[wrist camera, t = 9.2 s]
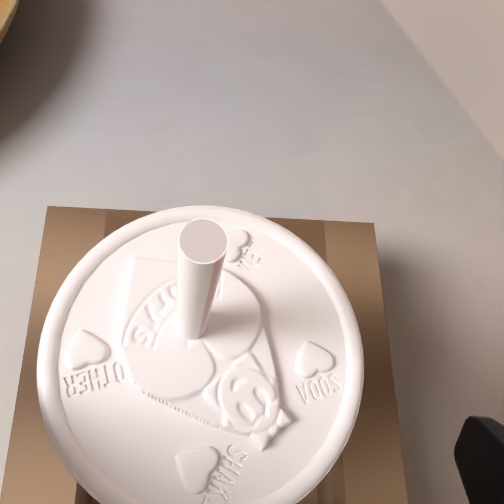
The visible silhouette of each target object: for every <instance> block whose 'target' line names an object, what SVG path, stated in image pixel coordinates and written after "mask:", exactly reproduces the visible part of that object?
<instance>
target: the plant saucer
mask: <svg viewBox="0 0 504 504" xmlns="http://www.w3.org/2000/svg"><path fill="white" fill-rule="evenodd" d="M19 2H20V0H0V44H1V42H2V40H3V39H4V37H5V35H6V33H7V31H8V29H9V27H10V25H11V23H12V21H13V18H14V16H15V13H16V11H17V8H18V5H19Z"/></svg>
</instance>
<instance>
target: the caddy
mask: <svg viewBox="0 0 504 504" xmlns="http://www.w3.org/2000/svg"><path fill="white" fill-rule="evenodd" d="M152 213H156V212H151V211H132V210H113V209H94V208H75V207H56V206H48V207H47V213H46V219H45V226H44V232H43V238H42V244H41V250H40V257H39V263H38V269H37V275H36V281H35V287H34V294H33V300H32V306H31V312H30V318H29V324H28V331H27V337H26V343H25V349H24V355H23V361H22V368H21V374H20V380H19V386H18V392H17V399H16V405H15V411H14V417H13V423H12V429H11V436H10V442H9V448H8V454H7V460H6V466H5V473H4V479H3V485H2V491H1V497H0V504H101V503H99V502H98V501H97V500H96V499H94V498H93V497H92V496H91V495H89V493H88V492H87V491H86V490H85V489H84V488H83V487H82V486H81V485H80V484H79V483H78V482H77V481H76V480H75V479H74V477H73V476H72V475H71V473H70V472H69V471H68V470H67V468H66V467H65V465H64V464H63V462H62V460H61V459H60V457H59V456H58V454H57V452H56V450H55V448H54V446H53V444H52V442H51V440H50V438H49V435H48V432H47V429H46V427H45V424H44V421H43V417H42V413H41V408H40V404H39V398H38V389H37V358H38V349H39V343H40V338H41V333H42V330H43V326H44V323H45V320H46V317H47V314H48V312H49V309H50V307H51V304H52V302H53V300H54V298H55V296H56V294H57V293H58V291H59V289H60V287H61V286H62V284H63V282H64V281H65V279H66V278H67V276H68V275H69V274H70V272H71V271H72V270H73V268H74V267H75V266H76V265H77V263H78V262H79V261H80V260H81V259H82V258H83V257H84V256H85V255H86V254H87V253H88V252H89V251H90V250H91V249H92V248H93V247H95V246H96V245H97V244H98V243H99V242H100V241H102V240H103V239H104V238H106V237H107V236H109V235H110V234H111V233H113V232H114V231H116V230H118V229H119V228H121V227H123V226H125V225H126V224H128V223H131V222H133V221H135V220H137V219H139V218H142V217H144V216H147V215H150V214H152ZM263 218H266V217H263ZM266 219H268V220H270V221H272V222H274V223H276V224H278V225H280V226H282V227H283V228H285V229H287V230H289V231H290V232H292V233H293V234H294V235H296V236H297V237H299V238H300V239H301V240H303V241H304V242H305V243H306V244H307V245H308V246H310V247H311V248H312V249H313V250H314V251H315V252H316V253H317V254H318V255H319V256H320V257H321V258H322V259H323V261H324V262H325V263H326V264H327V265H328V267H329V268H330V269H331V270H332V272H333V273H334V275H335V276H336V278H337V279H338V280H339V282H340V284H341V286H342V287H343V289H344V291H345V293H346V295H347V297H348V299H349V301H350V304H351V306H352V308H353V311H354V314H355V317H356V320H357V323H358V327H359V331H360V335H361V342H362V348H363V360H364V380H363V389H362V397H361V401H360V406H359V411H358V414H357V417H356V421H355V424H354V427H353V429H352V432H351V434H350V436H349V439H348V441H347V443H346V445H345V447H344V449H343V450H342V452H341V454H340V456H339V458H338V459H337V461H336V462H335V463H334V465H333V466H332V468H331V469H330V471H329V472H328V473H327V474H326V475H325V477H324V478H323V479H322V480H321V481H320V483H319V484H318V485H317V486H316V487H315V488H314V489H313V490H312V491H310V492H309V493H308V494H307V495H306V496H305V497H304V498H303V499H301V500H300V501H299V502H297V503H296V504H408V498H407V490H406V482H405V473H404V465H403V457H402V449H401V441H400V433H399V425H398V417H397V408H396V400H395V392H394V384H393V376H392V368H391V360H390V352H389V343H388V335H387V327H386V319H385V311H384V303H383V295H382V286H381V278H380V270H379V262H378V254H377V246H376V238H375V230H374V223H361V222H342V221H323V220H304V219H285V218H266Z"/></svg>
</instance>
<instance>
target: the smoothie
mask: <svg viewBox="0 0 504 504" xmlns="http://www.w3.org/2000/svg"><path fill="white" fill-rule="evenodd" d="M363 380H364V360H363V348H362V342H361V335H360V331H359V327H358V323H357V320H356V317H355V314H354V311H353V308H352V306H351V304H350V301H349V299H348V297H347V295H346V293H345V291H344V289H343V287H342V286H341V284H340V282H339V280H338V279H337V278H336V276H335V275H334V273H333V272H332V270H331V269H330V268H329V267H328V265H327V264H326V263H325V262H324V261H323V259H322V258H321V257H320V256H319V255H318V254H317V253H316V252H315V251H314V250H313V249H312V248H311V247H310V246H308V245H307V244H306V243H305V242H304V241H303V240H301V239H300V238H299V237H297V236H296V235H294V234H293V233H292V232H290V231H289V230H287V229H285V228H283V227H282V226H280V225H278V224H276V223H274V222H272V221H270V220H268V219H266V218H263V217H261V216H258V215H255V214H252V213H249V212H245V211H242V210H238V209H233V208H227V207H219V206H187V207H178V208H173V209H167V210H163V211H160V212H156V213H152V214H150V215H147V216H144V217H142V218H139V219H137V220H135V221H133V222H131V223H128V224H126V225H125V226H123V227H121V228H119V229H118V230H116V231H114V232H113V233H111V234H110V235H109V236H107V237H106V238H104V239H103V240H102V241H100V242H99V243H98V244H97V245H96V246H95V247H93V248H92V249H91V250H90V251H89V252H88V253H87V254H86V255H85V256H84V257H83V258H82V259H81V260H80V261H79V262H78V263H77V265H76V266H75V267H74V268H73V270H72V271H71V272H70V274H69V275H68V276H67V278H66V279H65V281H64V282H63V284H62V286H61V287H60V289H59V291H58V293H57V294H56V296H55V298H54V300H53V302H52V304H51V307H50V309H49V312H48V314H47V317H46V320H45V323H44V326H43V330H42V333H41V338H40V343H39V349H38V358H37V389H38V398H39V404H40V408H41V413H42V417H43V421H44V424H45V427H46V429H47V432H48V435H49V438H50V440H51V442H52V444H53V446H54V448H55V450H56V452H57V454H58V456H59V457H60V459H61V460H62V462H63V464H64V465H65V467H66V468H67V470H68V471H69V472H70V473H71V475H72V476H73V477H74V479H75V480H76V481H77V482H78V483H79V484H80V485H81V486H82V487H83V488H84V489H85V490H86V491H87V492H88V493H89V495H91V496H92V497H93V498H94V499H96V500H97V501H98V502H99V503H101V504H296V503H297V502H299V501H300V500H301V499H303V498H304V497H305V496H306V495H307V494H308V493H309V492H310V491H312V490H313V489H314V488H315V487H316V486H317V485H318V484H319V483H320V481H321V480H322V479H323V478H324V477H325V475H326V474H327V473H328V472H329V471H330V469H331V468H332V466H333V465H334V463H335V462H336V461H337V459H338V458H339V456H340V454H341V452H342V450H343V449H344V447H345V445H346V443H347V441H348V439H349V436H350V434H351V432H352V429H353V427H354V424H355V421H356V417H357V414H358V411H359V406H360V401H361V397H362V389H363Z"/></svg>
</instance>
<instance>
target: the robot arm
mask: <svg viewBox="0 0 504 504" xmlns="http://www.w3.org/2000/svg"><path fill="white" fill-rule="evenodd" d="M454 456H455V461H456V464H457V467H458V470H459V473H460V476H461V479H462V482H463V485H464V488H465V491H466V494H467V497H468V500H469V503H470V504H504V426H503V425H501V424H500V423H498V422H497V421H495V420H494V419H492V418H490V417H483V416H470V417H468V418H467V419H466V420H465V422H464V425H463V427H462V430H461V432H460V435H459V437H458V440H457V442H456V445H455V449H454Z"/></svg>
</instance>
